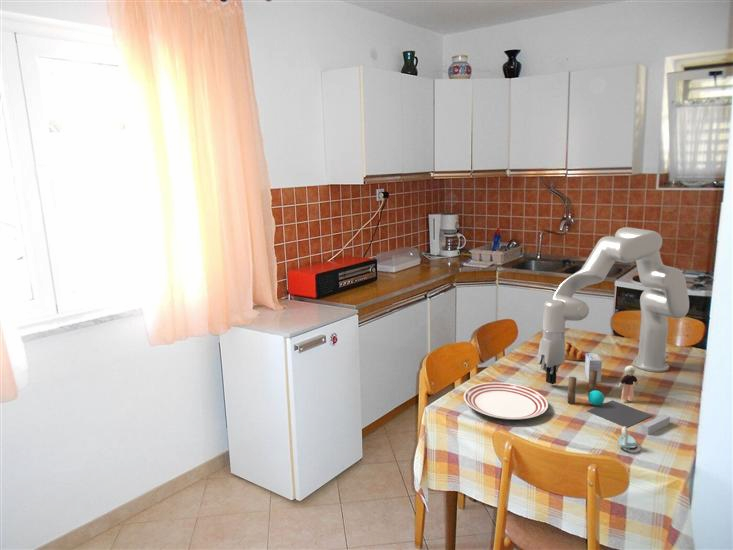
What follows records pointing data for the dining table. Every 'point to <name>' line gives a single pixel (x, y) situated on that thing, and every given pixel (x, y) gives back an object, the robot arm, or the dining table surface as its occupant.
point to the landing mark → (619, 413)
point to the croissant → (573, 353)
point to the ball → (596, 397)
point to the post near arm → (592, 380)
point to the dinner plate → (505, 400)
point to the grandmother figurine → (628, 385)
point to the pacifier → (627, 441)
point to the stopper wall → (655, 424)
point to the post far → (571, 390)
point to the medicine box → (593, 365)
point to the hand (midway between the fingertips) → (550, 382)
